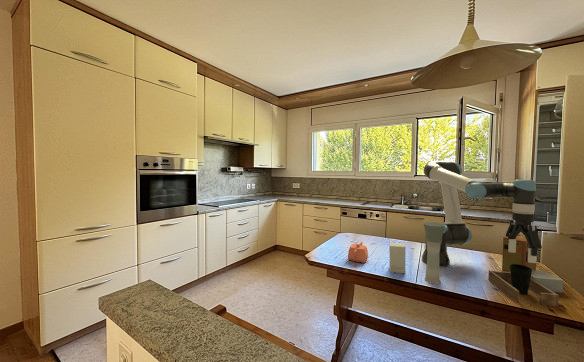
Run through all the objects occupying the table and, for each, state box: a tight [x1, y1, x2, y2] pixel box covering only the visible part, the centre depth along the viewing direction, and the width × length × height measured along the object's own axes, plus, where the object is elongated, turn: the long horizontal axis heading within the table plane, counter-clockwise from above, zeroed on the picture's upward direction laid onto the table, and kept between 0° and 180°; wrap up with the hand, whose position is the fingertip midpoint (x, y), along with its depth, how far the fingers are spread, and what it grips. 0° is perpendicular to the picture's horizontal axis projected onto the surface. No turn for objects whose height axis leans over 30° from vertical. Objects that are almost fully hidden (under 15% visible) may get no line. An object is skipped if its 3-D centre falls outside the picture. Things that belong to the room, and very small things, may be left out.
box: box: [501, 233, 537, 272], centre depth 136 cm, size 17×9×20 cm, turn 117°
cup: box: [510, 264, 532, 296], centre depth 114 cm, size 8×8×12 cm
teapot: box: [347, 241, 369, 264], centre depth 155 cm, size 12×18×10 cm, turn 149°
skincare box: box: [388, 242, 406, 275], centre depth 137 cm, size 8×7×16 cm
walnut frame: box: [487, 270, 560, 308], centre depth 114 cm, size 15×22×5 cm
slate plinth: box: [531, 269, 564, 294], centre depth 120 cm, size 11×11×6 cm
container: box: [423, 221, 445, 284], centre depth 125 cm, size 10×10×30 cm
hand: (521, 257), depth 113 cm, fingers open, 13 cm apart
